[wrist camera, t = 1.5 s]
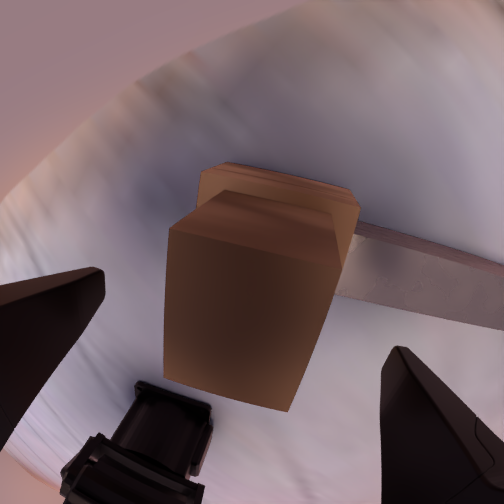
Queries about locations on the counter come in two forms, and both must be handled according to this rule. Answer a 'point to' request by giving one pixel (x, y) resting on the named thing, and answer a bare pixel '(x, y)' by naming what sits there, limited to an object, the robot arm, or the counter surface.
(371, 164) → the counter surface
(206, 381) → the carriage
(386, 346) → the counter surface
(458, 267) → the rail
